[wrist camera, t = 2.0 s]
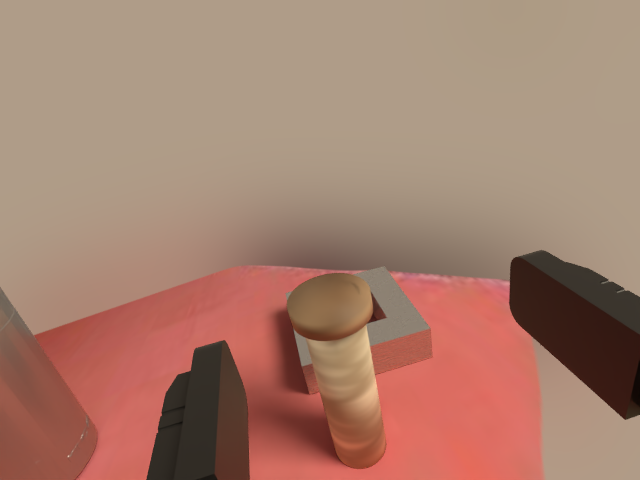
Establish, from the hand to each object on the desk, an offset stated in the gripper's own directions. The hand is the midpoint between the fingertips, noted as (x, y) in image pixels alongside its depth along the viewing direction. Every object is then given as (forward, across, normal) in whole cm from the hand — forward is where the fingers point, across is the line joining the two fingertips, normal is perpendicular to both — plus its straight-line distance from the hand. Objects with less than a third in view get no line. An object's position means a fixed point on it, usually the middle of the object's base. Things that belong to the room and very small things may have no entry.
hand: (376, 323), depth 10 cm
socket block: (+23, -3, +20) cm, 31 cm away
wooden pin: (+11, 0, +20) cm, 23 cm away
